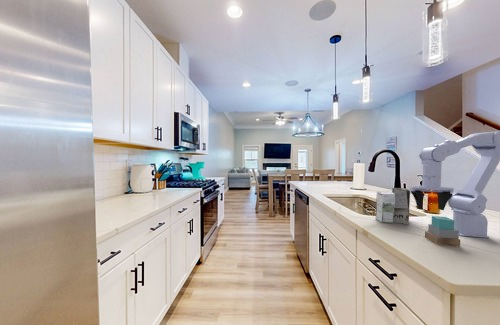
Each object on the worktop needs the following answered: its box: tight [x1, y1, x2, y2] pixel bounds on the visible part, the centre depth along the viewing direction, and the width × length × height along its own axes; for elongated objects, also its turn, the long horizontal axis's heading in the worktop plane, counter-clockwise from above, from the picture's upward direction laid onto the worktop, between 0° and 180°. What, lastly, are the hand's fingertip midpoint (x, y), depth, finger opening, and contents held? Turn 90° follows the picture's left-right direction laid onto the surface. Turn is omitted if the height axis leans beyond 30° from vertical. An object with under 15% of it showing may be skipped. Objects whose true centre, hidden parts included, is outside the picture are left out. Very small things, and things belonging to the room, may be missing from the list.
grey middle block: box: [427, 223, 460, 239], centre depth 76 cm, size 6×6×3 cm
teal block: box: [431, 215, 454, 230], centre depth 75 cm, size 4×4×4 cm
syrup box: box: [375, 191, 395, 224], centre depth 99 cm, size 6×6×14 cm
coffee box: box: [391, 187, 411, 225], centre depth 100 cm, size 9×6×16 cm
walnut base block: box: [424, 230, 461, 247], centre depth 76 cm, size 7×7×3 cm
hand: (430, 209), depth 83 cm, fingers open, 7 cm apart
